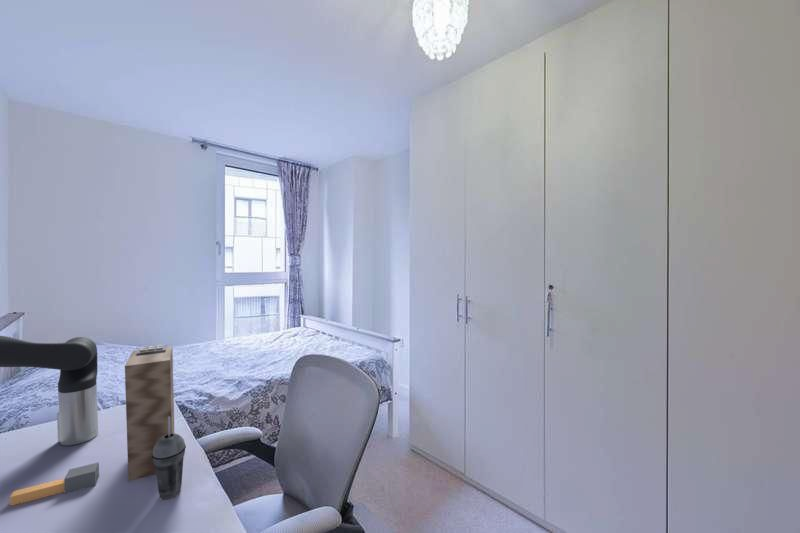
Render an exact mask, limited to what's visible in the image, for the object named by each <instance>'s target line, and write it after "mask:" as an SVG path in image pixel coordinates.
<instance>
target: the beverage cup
mask: <svg viewBox="0 0 800 533" xmlns="http://www.w3.org/2000/svg"><path fill="white" fill-rule="evenodd" d="M186 448H187V446H186V443H185V439H184V438H183V437H182V436H181V434H178V433H175V434H174V433H172V434H170V416H169V417H168V434H167V435H165V436H163V437H162V438H160V439H159V440H158V441H157V443H156V444H155V446H154V448H153V453H152V458H153V461H154V464H155V469H156V475H155V476H156V482H157V488H158V494H159V499H160V498H161V499H162V501H169V500H172V499H175V498H177V496H179V495H180V493H181V491H182V490H181V489H182V485H183V484H182V483H183V470H184V469H183V468H184V459H185V458H184V457H185V453H186ZM161 499H160V500H161Z"/></svg>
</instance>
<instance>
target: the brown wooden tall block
mask: <svg viewBox="0 0 800 533" xmlns="http://www.w3.org/2000/svg"><path fill="white" fill-rule="evenodd" d="M173 354H174V353H173V345H169V346H167V344H157V345H151V346H141V347H140V348H139V347H138V349H134V350H132V351H131V354H130V355H129V357H128V360H127V361H126V363H125V365H124V379H125V380H124V381H125V384H124V386H125V387H124V388H125V414H126V416H125V417H126V444H127V446H126V447H127V479H128V480H127V481H128V483H130V482H133V481H137V480H140V479H145V478H148V477H152V476H154V475H155V476H156V469H155V464H154V461H153V458H152V453H153V448H154V446H155V444H156V443H157V441H158V440H159V439H160V438H162V437H163V436H165V435H167V434H168V417H169V416H170V434H172V433H174V434H176V433H175V405H174V404H175V403H174V402H175V401H174V400H175V399H174V398H175V397H174V396H175V395H174V392H175V391H174V356H173Z"/></svg>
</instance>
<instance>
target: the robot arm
mask: <svg viewBox="0 0 800 533" xmlns="http://www.w3.org/2000/svg"><path fill="white" fill-rule="evenodd" d="M0 368H40V369H41V368H42V369H49V370H59V378H58V383H57V393H58V394H57V396H58V400H57V401H58V412H57V413H56V423H57V426H56V428H57V442H59V443H60V445H61V446H66V447H67V446H74V445H79V444H82V443H86V442H88V441H90V440H92V439H94V438H95V437H97V436H98V434H99V413H98V412H99V411H98V410H99V409H98V388H97V387H98V385H97V384H98V383H97V379H98V378H97V377H98V347H97V345H96V343H95V342H94V341H93V340H92V339H91V338H88V337H84V336H79V337H73V338H71V339H68V340H66V341H65V342H61V343H60V342H57V343H56V342H55V343H53V342H52V343H51V342H50V343H44V342H43V343H42V342H32V341H27V340H23V339H19V338H14V337H10V336H5V335H0Z"/></svg>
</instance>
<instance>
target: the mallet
mask: <svg viewBox="0 0 800 533" xmlns="http://www.w3.org/2000/svg"><path fill="white" fill-rule="evenodd" d="M99 478H100V463H99V462H95V463H90V464H87V465H81V466H77V467H75V468H71V469H70V468H69V470H68V471H67V473H66V475H65V477H64V478H60V479H56V480H52V481H49V482H45V483H41V484H37V485H32V486H28V487H25V488H20V489H17V490H14V491H13V492H12V493H11V495H10V497H9V505H13V506H15V505H14V504H17V505H20V504H24V503H27V502H31V500H32V501H34V500H38V499H42V498H47V497H50V496H54V495H58V494H60V493H64V494H68V493H73V492H77V491H79V490H83V489H87V488H91V487H95V486H96V485H97V483H98V480H99ZM23 502H24V503H23ZM19 503H20V504H19Z"/></svg>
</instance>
